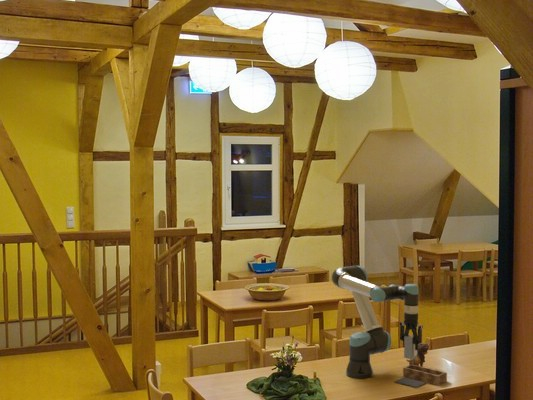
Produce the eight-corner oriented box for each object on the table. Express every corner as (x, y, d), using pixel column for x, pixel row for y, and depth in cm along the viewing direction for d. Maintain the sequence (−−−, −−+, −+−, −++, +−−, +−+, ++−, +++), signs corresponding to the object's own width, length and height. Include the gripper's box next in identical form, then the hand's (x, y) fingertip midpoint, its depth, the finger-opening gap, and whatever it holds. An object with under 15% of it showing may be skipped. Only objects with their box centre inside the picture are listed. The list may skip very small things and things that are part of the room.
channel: (403, 376, 389) (403, 367, 388) (411, 372, 395) (411, 364, 395) (438, 385, 373) (438, 376, 373) (446, 381, 380) (446, 372, 380)
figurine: (430, 367, 406) (431, 342, 405) (411, 375, 390) (412, 349, 389) (420, 364, 411) (420, 340, 410) (401, 372, 395) (401, 347, 394)
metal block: (404, 357, 376) (404, 336, 375) (409, 355, 380) (409, 334, 379) (412, 359, 373) (412, 337, 372) (416, 357, 376) (417, 336, 376)
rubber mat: (394, 382, 378) (394, 381, 378) (404, 378, 385) (404, 377, 385) (416, 388, 368) (416, 387, 368) (426, 383, 376) (426, 382, 376)
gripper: (393, 311, 378) (392, 352, 379) (422, 316, 366) (421, 359, 367) (400, 309, 384) (400, 350, 385) (429, 314, 371) (428, 356, 373)
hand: (410, 354), depth 376 cm, fingers closed on metal block, 5 cm apart
